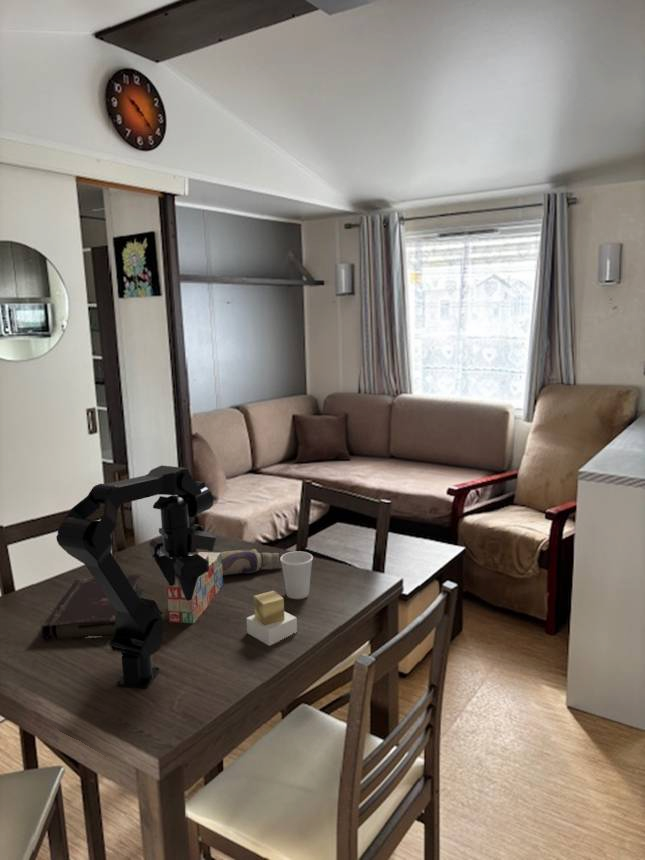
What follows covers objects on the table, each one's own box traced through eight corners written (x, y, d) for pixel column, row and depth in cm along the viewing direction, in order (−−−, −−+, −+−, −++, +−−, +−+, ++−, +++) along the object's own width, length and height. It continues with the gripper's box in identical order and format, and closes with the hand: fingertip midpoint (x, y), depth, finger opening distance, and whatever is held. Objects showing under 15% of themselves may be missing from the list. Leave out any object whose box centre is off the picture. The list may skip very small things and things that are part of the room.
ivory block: (297, 633, 144) (296, 617, 143) (269, 647, 139) (268, 630, 138) (274, 621, 150) (274, 606, 149) (247, 634, 144) (246, 617, 144)
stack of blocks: (201, 584, 171) (198, 540, 169) (223, 585, 170) (221, 541, 167) (168, 622, 150) (164, 573, 148) (193, 624, 149) (190, 575, 147)
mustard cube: (284, 619, 142) (283, 598, 142) (264, 625, 140) (263, 604, 139) (274, 610, 147) (273, 590, 146) (254, 616, 144) (253, 595, 143)
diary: (40, 645, 143) (37, 624, 142) (74, 595, 167) (72, 577, 166) (125, 638, 144) (122, 618, 143) (146, 590, 169) (145, 572, 168)
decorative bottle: (193, 584, 171) (192, 560, 170) (192, 573, 178) (191, 550, 177) (288, 572, 177) (287, 549, 176) (283, 562, 184) (282, 540, 183)
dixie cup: (317, 588, 166) (316, 552, 164) (308, 603, 158) (307, 565, 156) (287, 585, 168) (286, 549, 166) (276, 599, 160) (275, 562, 158)
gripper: (229, 527, 132) (233, 597, 135) (192, 506, 147) (196, 569, 150) (179, 539, 126) (184, 612, 129) (145, 516, 141) (151, 582, 144)
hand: (180, 592), depth 138 cm, fingers open, 9 cm apart
